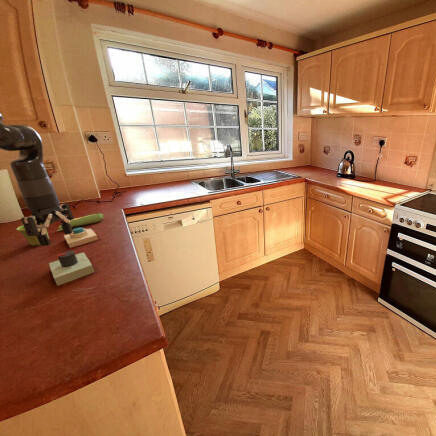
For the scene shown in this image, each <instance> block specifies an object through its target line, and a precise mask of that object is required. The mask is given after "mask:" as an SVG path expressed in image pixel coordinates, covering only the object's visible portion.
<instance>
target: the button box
mask: <svg viewBox="0 0 436 436" xmlns="http://www.w3.org/2000/svg"><path fill="white" fill-rule="evenodd" d="M83 230H84V232H81V233H78V234H74V233H73V231H72V233H71V234H64V235H63V237H64V240H65V241H66V244H67V245H68V247H69V248H70V249H71V248H75V247H77V246H81V245H85V244H88V243H91V242H94V241H97V240H99V238H98V234H97V233H96V232H95V231H94V230H93V229H92V228H83Z"/></svg>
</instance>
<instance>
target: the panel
mask: <svg viewBox="0 0 436 436" xmlns="http://www.w3.org/2000/svg"><path fill="white" fill-rule="evenodd" d="M75 255H76V258H77V260H78V263H76V264H75V265H73V266H70V267H62V266H61V264H60V261H59V259H57V260H54V261H51V262H49V263H48V266H49V269H50V271H51V274H52V278H53V279H54V281H55V283H56V286H57V287H59V286H61V285H64V284H66V283H69V282H72V281H75V280H77V279H80V278H83V277H86V276H88V275H91V274H93V273H96V272H95V268H94V266H93V264H92V263H91V261H90V260H89V258H88V257H87V255H86V253H85V252H84V251H83V252H80V253H75Z"/></svg>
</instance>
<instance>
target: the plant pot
mask: <svg viewBox="0 0 436 436" xmlns="http://www.w3.org/2000/svg"><path fill="white" fill-rule="evenodd" d="M40 225H43V224H41V223H40ZM31 230H32V229H31ZM16 231H18V233H20V234H22V236H23V237H24V239H25V240H26V242H28V244H29V245H30V246H31V247H35V246H42V245H41V244H40V243H39V241H38V238H37V236H28V235H27V233H26V230H25V228H24V225H23V224H21V225H20V226H18V227H17V228H16ZM40 231H41V229H40ZM45 234H47V237H48V239H49V240H50V236H49V233H48V228H47V229H46V233H45Z"/></svg>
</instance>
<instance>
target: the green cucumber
mask: <svg viewBox="0 0 436 436" xmlns="http://www.w3.org/2000/svg"><path fill="white" fill-rule="evenodd" d="M104 217H105V215H104V214H103V213H100V212H96V213H95V212H94V213H91V214H87V215H83V216H80V217H77V218H74V219H73V220H71V221H70V225H71V228H73V229H74V228H78V227H82V226H86V225H91V224H96V223H99V222H101V221H102V220H103V219H104ZM58 231H59V232H60V231H63V228H62V226H61V224H59V226H58V229H57V230H56V232H58Z"/></svg>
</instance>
